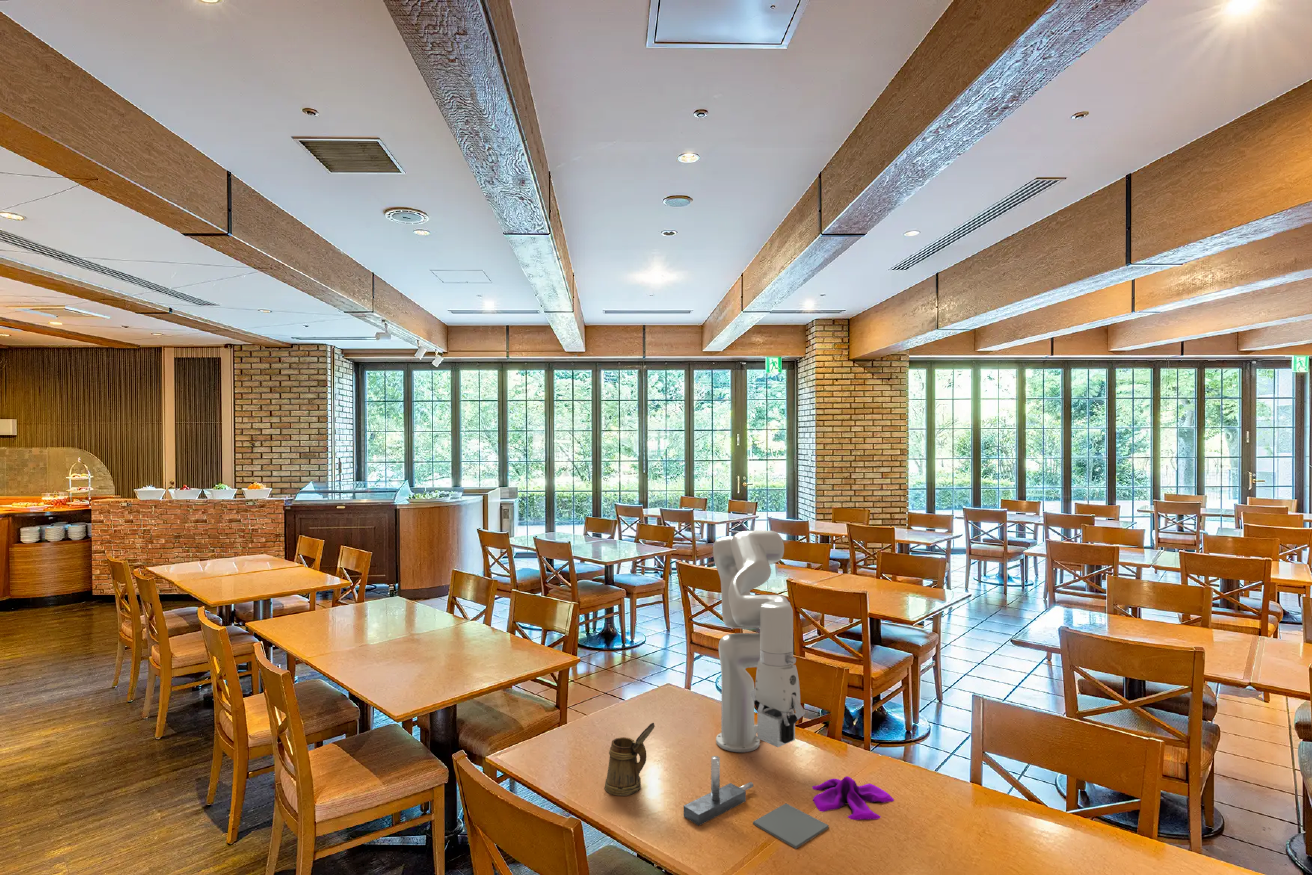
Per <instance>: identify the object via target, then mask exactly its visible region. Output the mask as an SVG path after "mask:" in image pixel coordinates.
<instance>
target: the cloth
mask: <svg viewBox="0 0 1312 875" xmlns="http://www.w3.org/2000/svg"><path fill="white" fill-rule="evenodd" d="M811 787H812V790H815V791H820V793H818V794H816V795H815V796H814V797H813V798H812V801H813V804H814V805H815V807H816V808H817V810H818V811H819V812H822V813H825V812H827V811H832V810H838V809H841V808H842V807H847V805H848V806H849V808H850V809H851V814H850V815H847V818H848V819H850V820H854V821H860V820H878V819H880V818H882V816H881V815H880V814H877V813H876V812H874V811H873V810H871V809H870V807H869V806H868V804H867V803H866V802H868V803H871V804H873V803H877V802H880V803H889V802H894V801H895V799H894V798H893V797H892V796H891V795H890V794H889V793H888V792H886V791H885V790H884V789H882V788H880V787H878V786H876V785H875V784H872V783H866V784H864V785H858V784H857V783H856V781H855V780H854V779H853V778H851V777H850V776H847V775H846V776H844V777H843V778H842V779H839V778H830V779H827V780H825V781H824V782H822V783H820V784H818V785H812V786H811ZM821 791H822V792H821ZM879 815H880V816H879Z"/></svg>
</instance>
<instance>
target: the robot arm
mask: <svg viewBox="0 0 1312 875" xmlns="http://www.w3.org/2000/svg"><path fill="white" fill-rule="evenodd" d="M784 544H785V543H784V541H783V538H782V537H781V535H780V534H779V533H778V532H776V531H774V530H742V531H739V532H737V533H735V534H734V535H731V536H730V535H729V536H722V537H719V538H717V539H715V541H714V542H713V546H712V555H713V561H714V564H715V567H716V570H717V572H718V575H719V579H720V588H721V589H720V591H721V592H720V594H721V612H722V614H721V616H722V620H723V621H722V622H723V623H724V626H726V627H728V628H730V629H759V632H749V633H748V632H741V633H740V632H736V633H735V632H734V633H729V634H728V633H727V634H725V635H723V636H722V637H721V638H720V640H719V642H718V655H719V662H720V671H721V675H720V676H721V730H720V731H721V732H720V733H718V734H717V735H716V737H715V743H716V745H717V746H718V747H719V748H721V749H723V750H725V751H727V752H731V753H732V752H734V753H748V752H753V751H754V750H755V751H756V749H758V748H759V746H760V742H761V741H760V739H758V738H757V723H756V724H755V707H756V709H757V712H756V713H758V712H759V711H761V710H764V709H767V708H770V707H771V708H773V709H776V710H778V711H781V713H782V716H783V720H784V723H785V724H784V725H783V726H782V741H783V743H787V744H789V743H791V742H790V741H792V742H793V739H794V723H795V724H796V723H797V721H799V720H800V719H801V718H802V717H803V716H805V714H806V711H805V709H804V708H803V706H802V705H801V689H800V680H799V674H798V669H797V665H796V662H797V658H796V657H794V611H793V607H792V605H791V602H790V601H789V600H788V598H787V597H786V596H784V595H780V594H751V590H754V589H756V588H759V587H761V586H763V584H765V583H766V582H767V581H768V580H769V579H770V577H771V574H772V568H771V565H772V564H775V563H778V562H780V561H781V560H782V559H783V557H784V553H785V545H784ZM748 668H756V674H755V682H754V679H753V677H752V676H751V674H750V673H749V672H748V671H747V670H746V669H748ZM794 711H795V712H794ZM787 713H789V716H790V718H788V714H787ZM794 713H795V714H794ZM788 742H789V743H788Z"/></svg>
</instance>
